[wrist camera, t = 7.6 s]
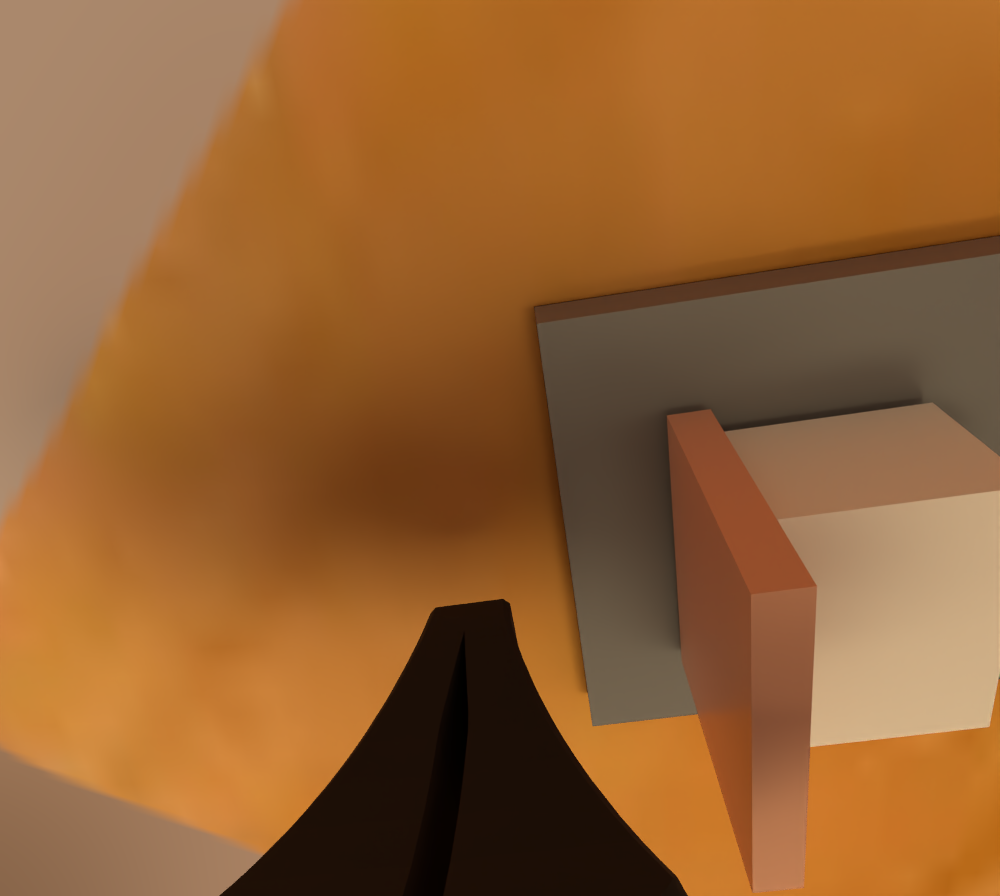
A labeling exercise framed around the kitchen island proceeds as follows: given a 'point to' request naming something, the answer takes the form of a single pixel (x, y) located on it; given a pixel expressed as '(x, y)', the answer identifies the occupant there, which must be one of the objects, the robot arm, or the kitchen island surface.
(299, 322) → the kitchen island surface
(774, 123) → the kitchen island surface
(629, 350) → the board
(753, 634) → the cream and red block
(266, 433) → the kitchen island surface
